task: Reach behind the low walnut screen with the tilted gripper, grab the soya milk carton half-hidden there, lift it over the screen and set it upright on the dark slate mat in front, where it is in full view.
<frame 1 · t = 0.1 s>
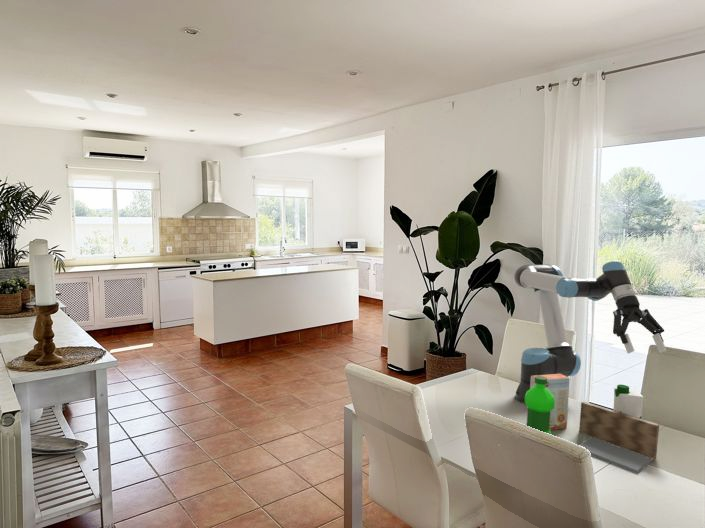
hand: (647, 351, 170), 36 cm above the table, tool tilted 35°, fingers open, 13 cm apart
cracker box: (546, 427, 188), on the table
plastic bottle: (536, 444, 173), on the table
slate mat: (613, 455, 166), on the table
soya milk: (625, 437, 180), on the table
walnut screen: (615, 444, 174), on the table
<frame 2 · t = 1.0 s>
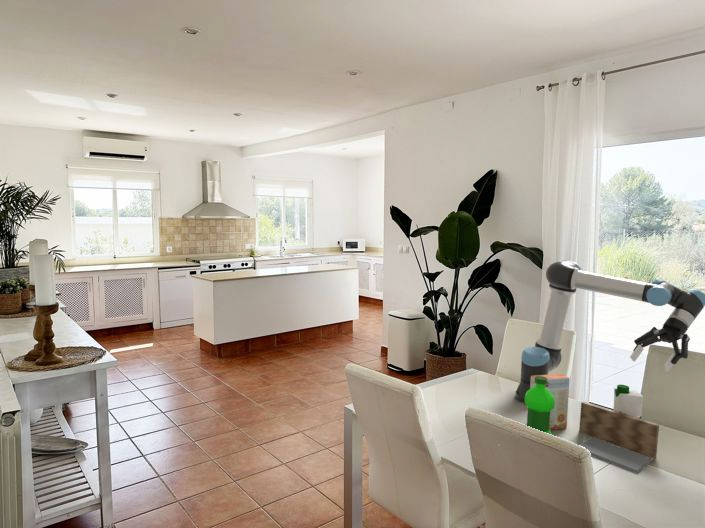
hand: (648, 364, 181), 28 cm above the table, tool tilted 45°, fingers open, 13 cm apart
nothing on the table moved.
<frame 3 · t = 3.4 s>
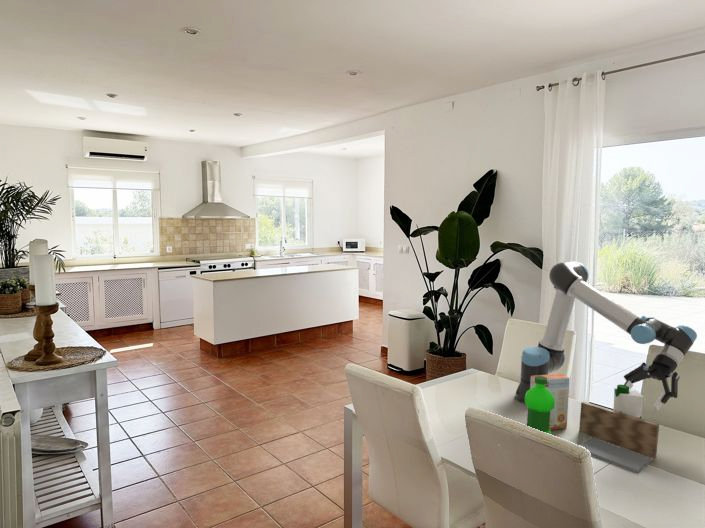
hand: (638, 401, 179), 14 cm above the table, tool tilted 45°, fingers open, 13 cm apart
nothing on the table moved.
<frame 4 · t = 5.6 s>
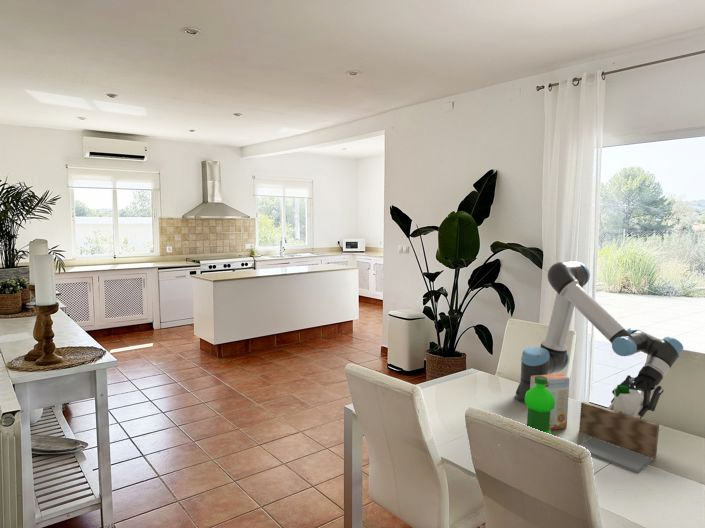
hand: (621, 416, 178), 9 cm above the table, tool tilted 45°, fingers closed on soya milk, 9 cm apart
soya milk: (625, 437, 180), on the table, touching gripper
everything else where it was.
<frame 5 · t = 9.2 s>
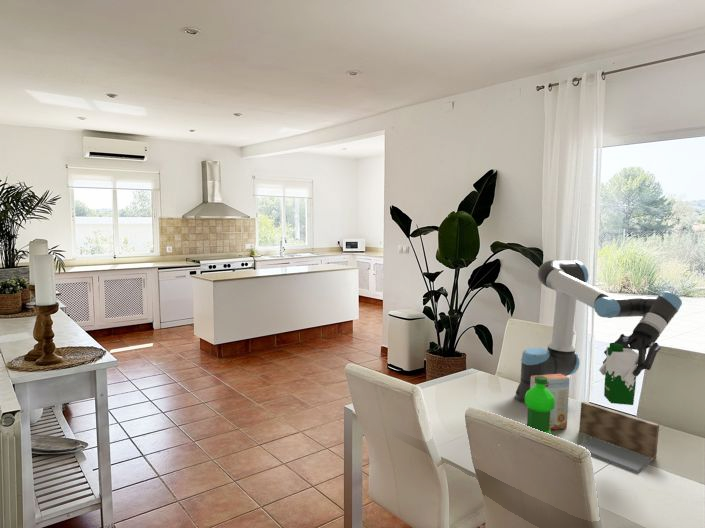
hand: (613, 376, 162), 29 cm above the table, tool tilted 45°, fingers closed on soya milk, 9 cm apart
soya milk: (618, 401, 164), point 20 cm above the table, touching gripper
everything else where it was.
when the fingers open (11 cm above the table, at t = 13.1 s): soya milk drops 1 cm, resting on slate mat.
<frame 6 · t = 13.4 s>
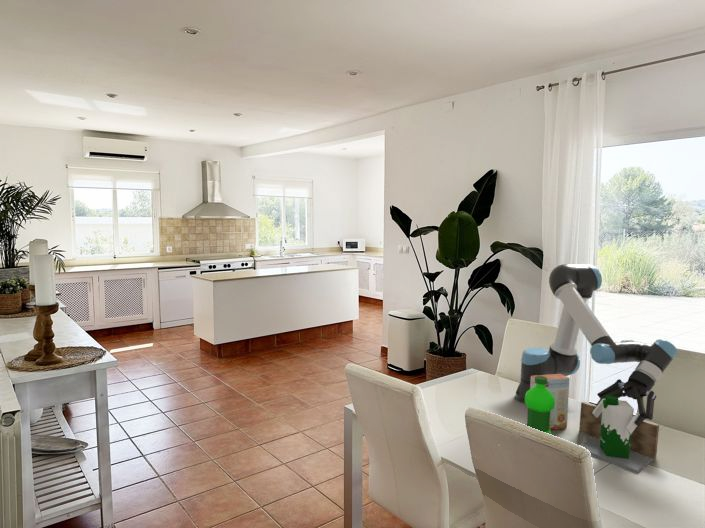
hand: (610, 423, 164), 12 cm above the table, tool tilted 45°, fingers open, 13 cm apart
soya milk: (614, 453, 166), point 1 cm above the table, touching slate mat
everything else where it was.
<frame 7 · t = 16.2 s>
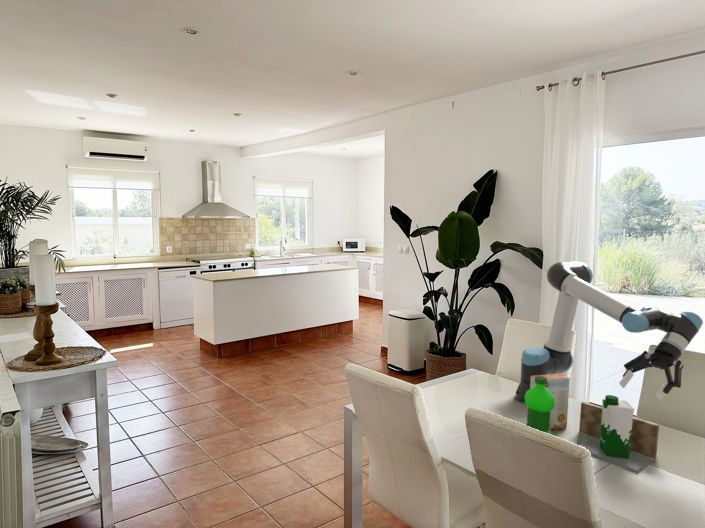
hand: (638, 392, 168), 22 cm above the table, tool tilted 45°, fingers open, 13 cm apart
nothing on the table moved.
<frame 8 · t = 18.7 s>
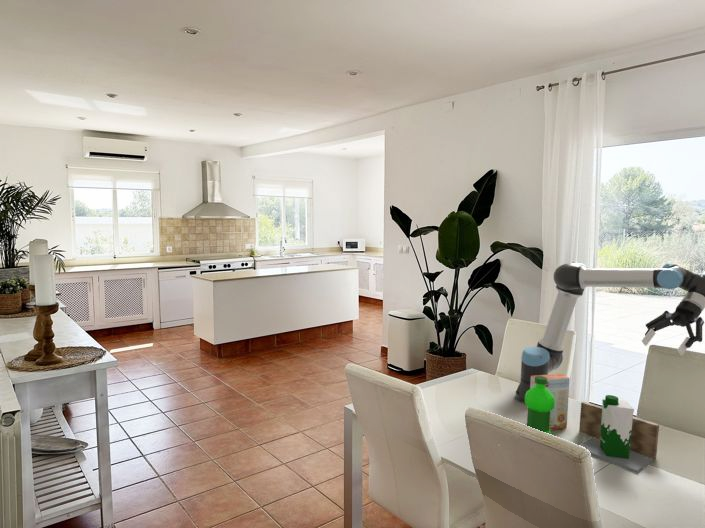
hand: (661, 347, 176), 36 cm above the table, tool tilted 45°, fingers open, 13 cm apart
nothing on the table moved.
at the end: soya milk inside the target area on the slate mat (0.3 cm from its centre), point 0.8 cm above the slate mat's base; soya milk tilted 0°; the gripper is holding nothing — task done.
